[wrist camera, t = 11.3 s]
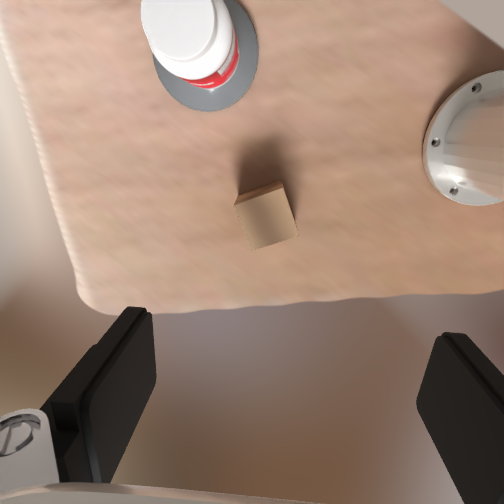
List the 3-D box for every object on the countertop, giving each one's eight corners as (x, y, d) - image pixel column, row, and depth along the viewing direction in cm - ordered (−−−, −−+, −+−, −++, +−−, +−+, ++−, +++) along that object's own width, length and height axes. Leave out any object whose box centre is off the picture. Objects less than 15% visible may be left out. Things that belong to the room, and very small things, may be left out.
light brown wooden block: (281, 179, 35) (283, 187, 30) (295, 221, 36) (299, 235, 32) (238, 195, 36) (233, 205, 31) (253, 235, 37) (251, 251, 33)
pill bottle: (164, 66, 31) (112, 36, 21) (193, -1, 29) (152, -72, 18) (220, 103, 32) (198, 91, 21) (252, 40, 30) (245, -5, 19)
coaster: (258, -11, 29) (258, -14, 28) (258, 111, 32) (258, 111, 32) (148, -8, 29) (146, -11, 29) (160, 112, 33) (158, 111, 32)
